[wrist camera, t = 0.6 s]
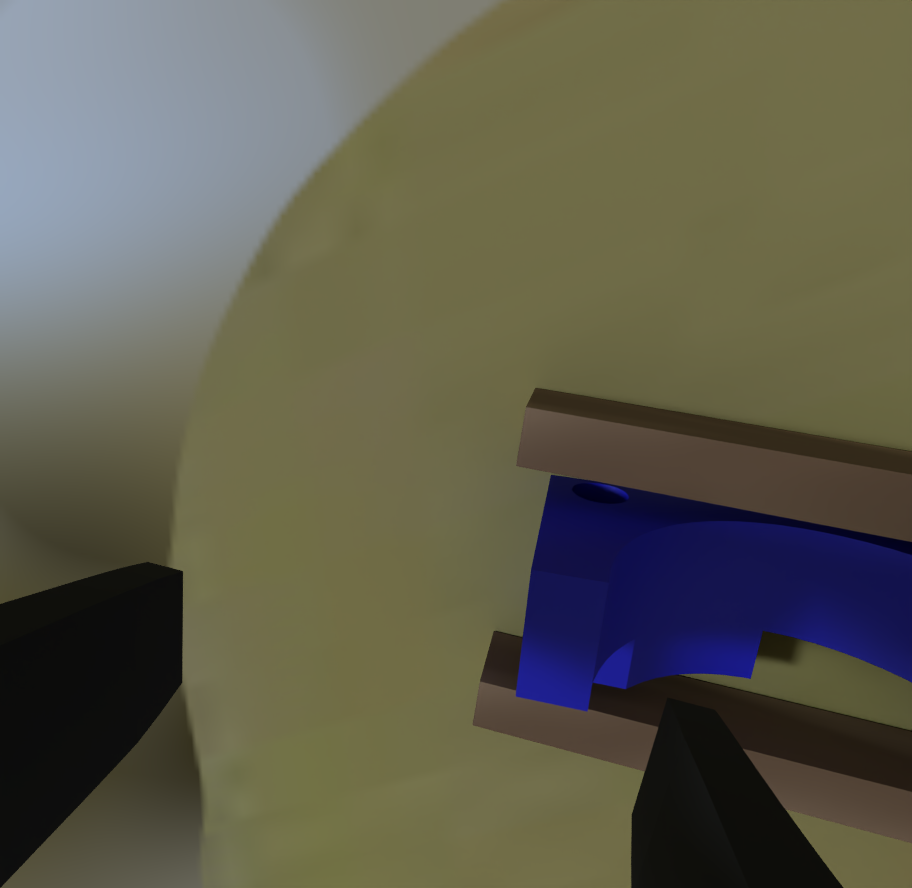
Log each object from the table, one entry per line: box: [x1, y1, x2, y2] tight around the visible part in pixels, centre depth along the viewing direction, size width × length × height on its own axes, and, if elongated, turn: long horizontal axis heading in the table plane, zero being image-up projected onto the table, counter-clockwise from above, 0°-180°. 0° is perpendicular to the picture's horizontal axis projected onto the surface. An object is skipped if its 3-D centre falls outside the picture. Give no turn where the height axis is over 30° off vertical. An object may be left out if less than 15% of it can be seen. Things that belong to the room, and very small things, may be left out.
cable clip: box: [516, 475, 912, 712], centre depth 14 cm, size 12×4×6 cm, turn 85°
